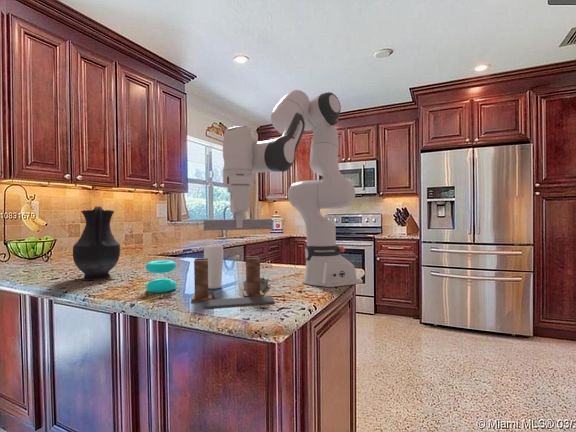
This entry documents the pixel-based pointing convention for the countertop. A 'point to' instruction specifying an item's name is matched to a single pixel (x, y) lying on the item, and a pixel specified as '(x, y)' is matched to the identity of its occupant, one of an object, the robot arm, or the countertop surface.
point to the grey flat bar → (238, 302)
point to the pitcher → (96, 245)
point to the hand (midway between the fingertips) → (238, 227)
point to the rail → (231, 224)
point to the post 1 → (201, 281)
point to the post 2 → (252, 277)
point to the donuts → (161, 284)
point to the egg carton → (262, 284)
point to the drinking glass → (214, 265)
